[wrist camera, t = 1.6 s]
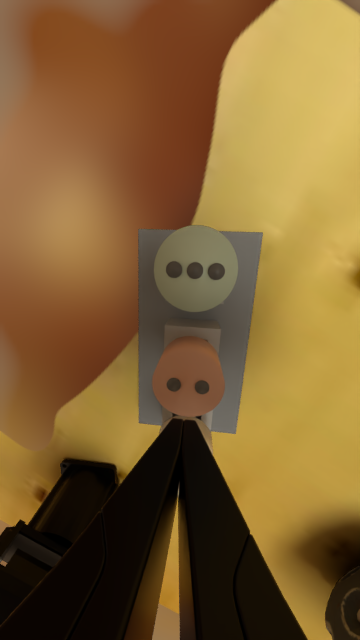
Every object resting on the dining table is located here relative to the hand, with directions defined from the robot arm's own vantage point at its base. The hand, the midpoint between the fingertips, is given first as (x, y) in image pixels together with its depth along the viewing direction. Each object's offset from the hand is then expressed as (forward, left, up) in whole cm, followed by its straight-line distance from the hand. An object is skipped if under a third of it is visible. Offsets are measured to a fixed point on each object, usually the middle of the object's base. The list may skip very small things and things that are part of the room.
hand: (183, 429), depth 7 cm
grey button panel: (0, 0, -11) cm, 11 cm away
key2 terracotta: (0, 0, -8) cm, 8 cm away
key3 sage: (0, +5, -8) cm, 9 cm away
